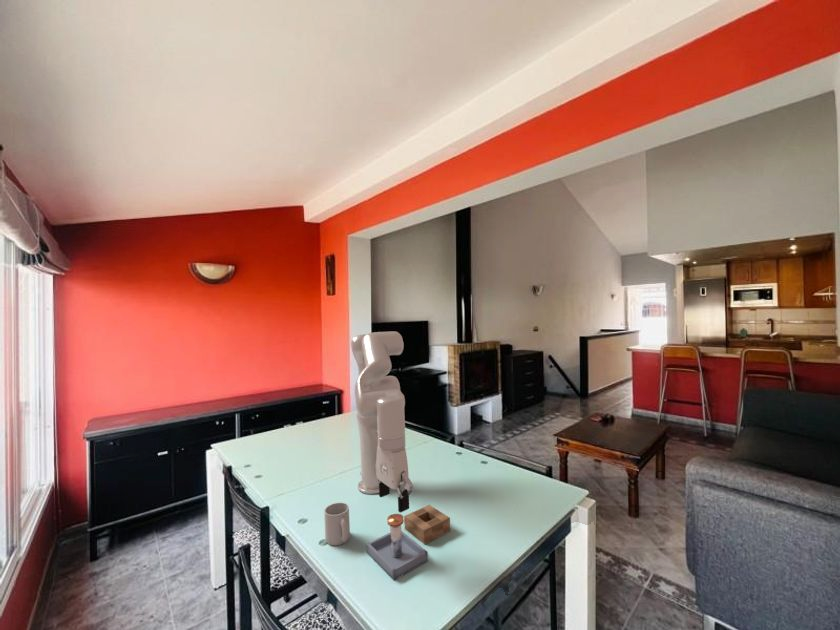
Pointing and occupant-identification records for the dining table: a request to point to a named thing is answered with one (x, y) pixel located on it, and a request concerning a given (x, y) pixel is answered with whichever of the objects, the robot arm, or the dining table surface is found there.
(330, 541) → the cup
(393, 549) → the pin
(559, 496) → the dining table surface
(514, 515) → the dining table surface
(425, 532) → the hitch block
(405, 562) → the tray
